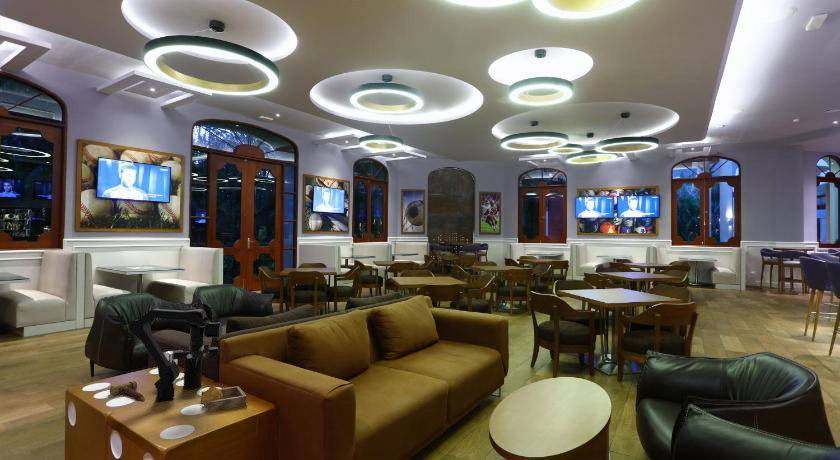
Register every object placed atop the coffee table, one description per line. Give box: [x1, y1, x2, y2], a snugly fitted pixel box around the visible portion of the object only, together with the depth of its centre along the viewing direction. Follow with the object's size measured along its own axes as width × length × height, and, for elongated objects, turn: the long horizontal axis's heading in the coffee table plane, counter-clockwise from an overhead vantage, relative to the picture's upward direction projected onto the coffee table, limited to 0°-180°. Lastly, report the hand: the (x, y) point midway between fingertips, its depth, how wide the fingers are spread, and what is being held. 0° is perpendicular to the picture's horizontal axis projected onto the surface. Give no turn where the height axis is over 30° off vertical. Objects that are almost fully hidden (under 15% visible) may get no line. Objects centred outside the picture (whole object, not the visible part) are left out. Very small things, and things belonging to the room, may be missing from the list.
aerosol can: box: [182, 356, 203, 390], centre depth 219 cm, size 8×8×20 cm
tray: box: [200, 385, 248, 413], centre depth 199 cm, size 16×15×4 cm
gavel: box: [109, 380, 146, 401], centre depth 204 cm, size 21×5×10 cm
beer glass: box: [162, 350, 178, 384], centre depth 224 cm, size 7×7×15 cm
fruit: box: [201, 385, 224, 407], centre depth 197 cm, size 8×8×8 cm
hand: (195, 371), depth 204 cm, fingers closed
